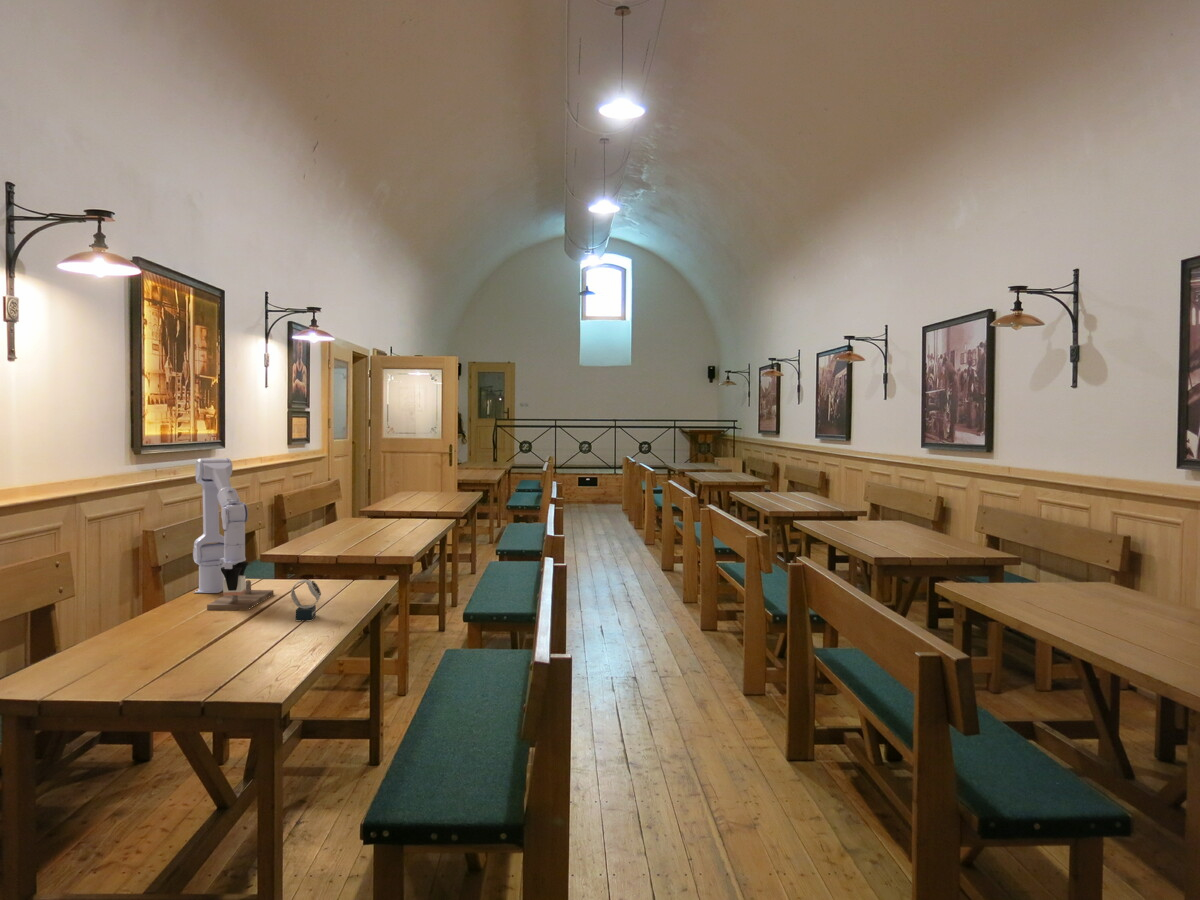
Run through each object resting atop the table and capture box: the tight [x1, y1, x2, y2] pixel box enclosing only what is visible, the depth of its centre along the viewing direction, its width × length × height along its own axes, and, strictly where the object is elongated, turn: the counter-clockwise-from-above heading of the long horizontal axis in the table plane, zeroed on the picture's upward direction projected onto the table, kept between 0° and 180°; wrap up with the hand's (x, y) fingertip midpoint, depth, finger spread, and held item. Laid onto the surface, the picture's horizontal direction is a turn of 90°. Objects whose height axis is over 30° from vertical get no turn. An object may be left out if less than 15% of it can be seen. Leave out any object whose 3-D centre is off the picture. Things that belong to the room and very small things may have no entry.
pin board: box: [206, 579, 274, 611], centre depth 240 cm, size 20×12×6 cm, turn 3°
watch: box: [290, 579, 322, 622], centre depth 222 cm, size 6×8×11 cm
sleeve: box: [222, 574, 246, 597], centre depth 235 cm, size 5×5×5 cm
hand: (234, 588), depth 235 cm, fingers closed on sleeve, 5 cm apart
